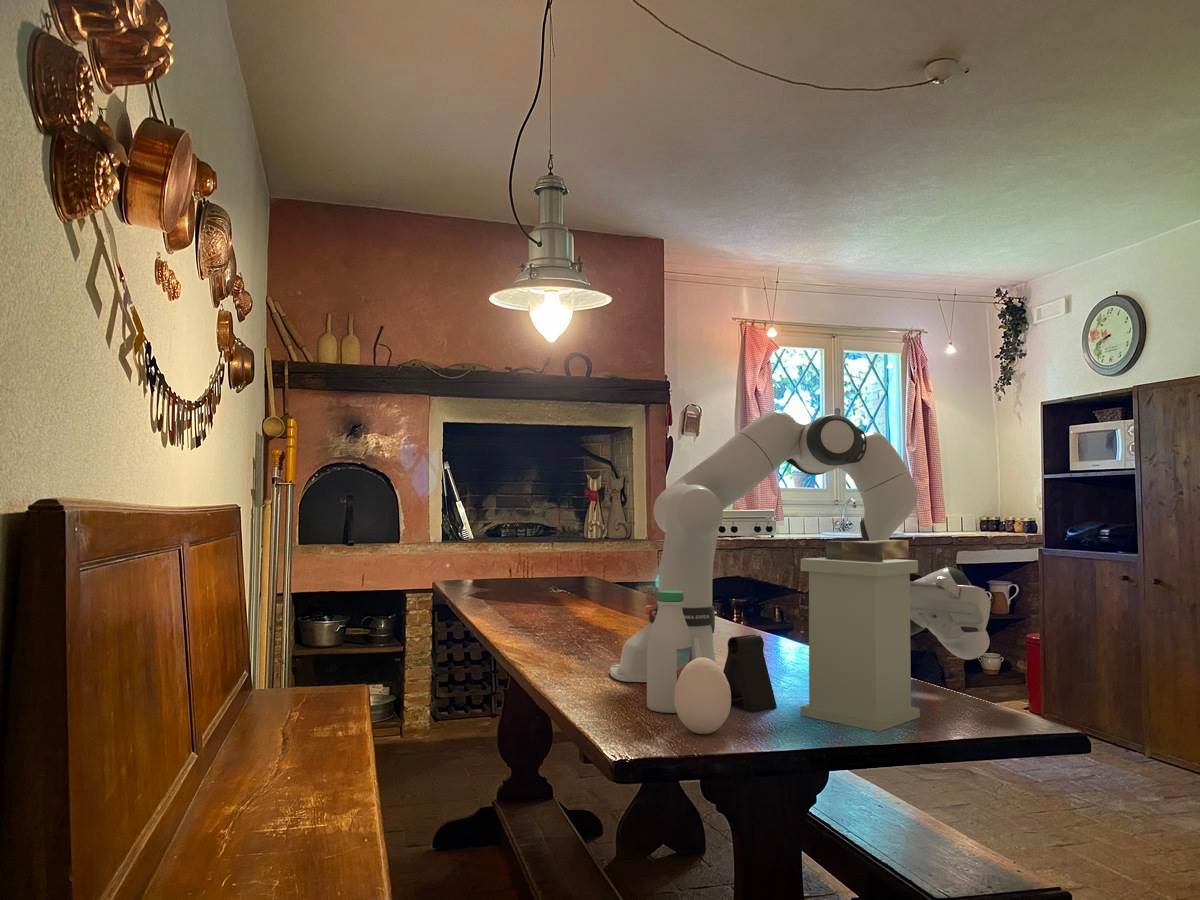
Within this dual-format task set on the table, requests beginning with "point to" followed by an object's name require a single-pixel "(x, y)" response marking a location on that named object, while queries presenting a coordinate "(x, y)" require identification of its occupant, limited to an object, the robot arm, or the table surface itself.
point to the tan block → (867, 550)
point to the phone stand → (748, 674)
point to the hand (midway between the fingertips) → (915, 578)
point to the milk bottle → (667, 651)
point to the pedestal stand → (860, 642)
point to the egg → (702, 696)
